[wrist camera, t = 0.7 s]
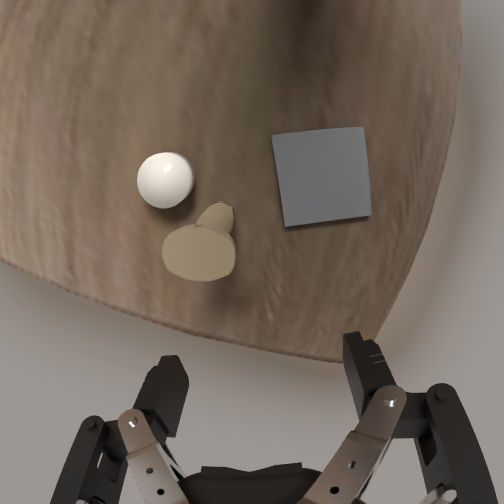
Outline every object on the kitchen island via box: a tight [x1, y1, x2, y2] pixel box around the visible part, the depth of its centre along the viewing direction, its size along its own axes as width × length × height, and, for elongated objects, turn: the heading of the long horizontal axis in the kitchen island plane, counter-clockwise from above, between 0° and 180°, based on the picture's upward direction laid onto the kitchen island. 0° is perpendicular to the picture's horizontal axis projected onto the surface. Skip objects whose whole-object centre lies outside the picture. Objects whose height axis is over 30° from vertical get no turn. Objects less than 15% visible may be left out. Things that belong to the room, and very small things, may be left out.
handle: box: [162, 201, 236, 281], centre depth 31 cm, size 5×6×15 cm
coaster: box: [271, 127, 371, 227], centre depth 35 cm, size 12×12×1 cm
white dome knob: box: [137, 152, 196, 208], centre depth 35 cm, size 7×7×4 cm
